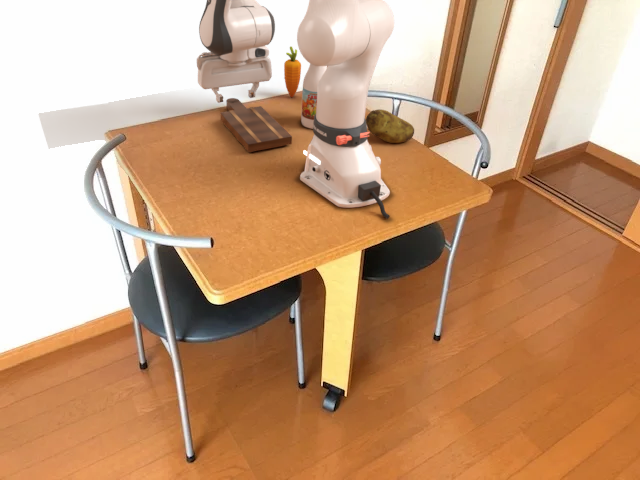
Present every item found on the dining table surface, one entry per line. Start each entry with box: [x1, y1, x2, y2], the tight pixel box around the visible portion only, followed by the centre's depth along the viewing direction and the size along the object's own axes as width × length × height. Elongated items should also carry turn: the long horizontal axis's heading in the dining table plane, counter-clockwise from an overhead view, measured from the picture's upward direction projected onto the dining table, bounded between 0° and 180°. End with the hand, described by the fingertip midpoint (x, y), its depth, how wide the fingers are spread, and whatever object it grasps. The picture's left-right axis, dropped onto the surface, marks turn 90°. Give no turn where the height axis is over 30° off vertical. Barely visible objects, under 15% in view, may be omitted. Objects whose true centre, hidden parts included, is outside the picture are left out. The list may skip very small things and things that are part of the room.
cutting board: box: [219, 97, 293, 153], centre depth 149 cm, size 28×12×3 cm, turn 28°
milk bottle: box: [300, 63, 327, 130], centre depth 148 cm, size 8×8×20 cm
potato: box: [365, 108, 415, 144], centre depth 147 cm, size 8×13×8 cm, turn 73°
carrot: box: [283, 46, 302, 98], centre depth 164 cm, size 5×5×15 cm
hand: (235, 99), depth 153 cm, fingers open, 8 cm apart
